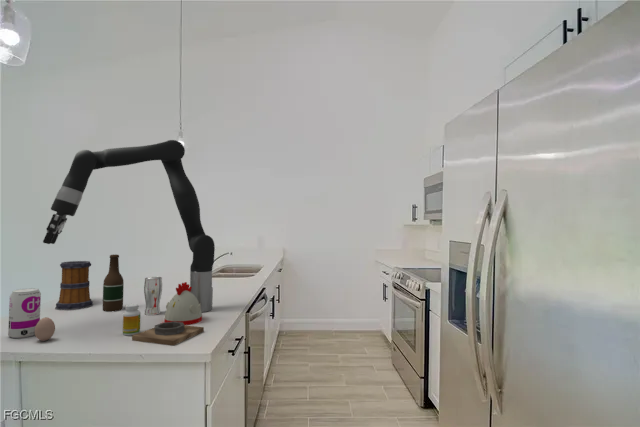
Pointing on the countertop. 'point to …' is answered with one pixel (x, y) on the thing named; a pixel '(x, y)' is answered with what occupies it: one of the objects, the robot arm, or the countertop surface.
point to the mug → (74, 286)
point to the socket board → (167, 338)
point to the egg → (44, 329)
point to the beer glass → (152, 295)
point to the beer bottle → (113, 287)
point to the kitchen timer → (183, 307)
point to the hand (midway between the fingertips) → (48, 243)
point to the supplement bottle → (131, 320)
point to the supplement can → (24, 312)
